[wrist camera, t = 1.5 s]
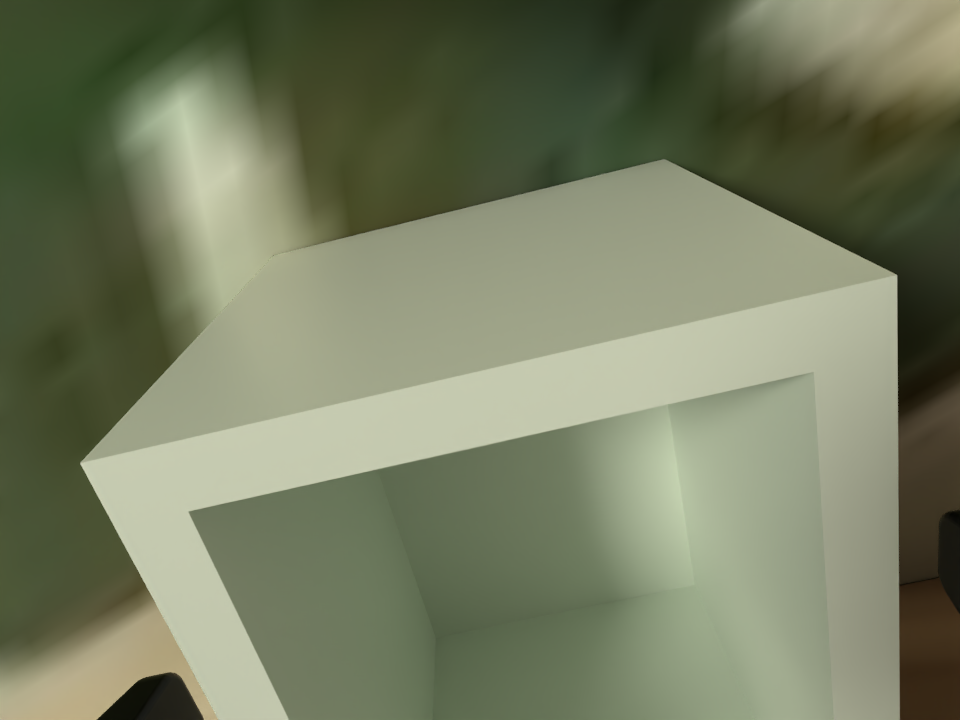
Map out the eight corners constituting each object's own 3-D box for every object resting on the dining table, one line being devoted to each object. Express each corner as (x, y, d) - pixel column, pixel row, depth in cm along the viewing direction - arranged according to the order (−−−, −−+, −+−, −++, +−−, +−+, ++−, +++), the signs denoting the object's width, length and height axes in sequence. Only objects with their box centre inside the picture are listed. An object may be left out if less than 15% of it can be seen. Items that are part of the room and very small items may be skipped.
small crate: (720, 580, 14) (901, 944, 8) (414, 643, 14) (385, 1029, 8) (664, 158, 10) (896, 275, 5) (273, 255, 11) (80, 462, 5)
